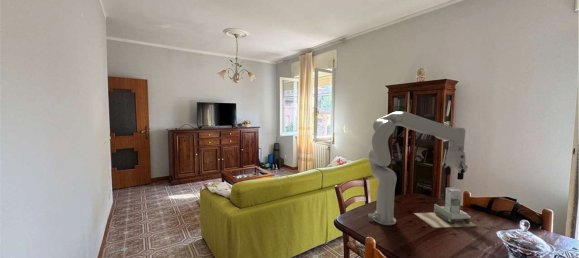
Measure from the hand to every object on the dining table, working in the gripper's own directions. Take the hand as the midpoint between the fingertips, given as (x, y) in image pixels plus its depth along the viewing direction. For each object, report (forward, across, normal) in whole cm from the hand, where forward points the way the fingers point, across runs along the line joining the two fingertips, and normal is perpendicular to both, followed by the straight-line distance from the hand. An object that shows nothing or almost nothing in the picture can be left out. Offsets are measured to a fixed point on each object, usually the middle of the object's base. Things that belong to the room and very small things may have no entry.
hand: (453, 177), depth 141 cm
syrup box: (+22, 0, 0) cm, 22 cm away
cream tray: (+26, 0, +4) cm, 27 cm away
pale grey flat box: (+26, 0, -1) cm, 26 cm away
